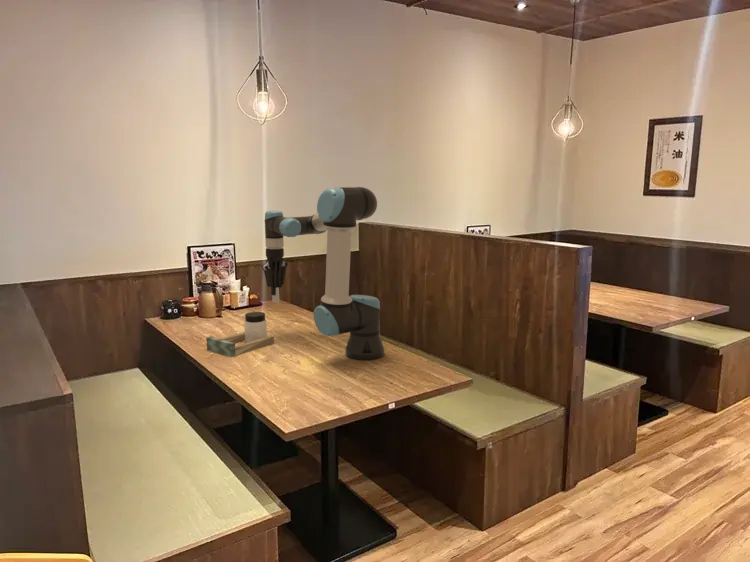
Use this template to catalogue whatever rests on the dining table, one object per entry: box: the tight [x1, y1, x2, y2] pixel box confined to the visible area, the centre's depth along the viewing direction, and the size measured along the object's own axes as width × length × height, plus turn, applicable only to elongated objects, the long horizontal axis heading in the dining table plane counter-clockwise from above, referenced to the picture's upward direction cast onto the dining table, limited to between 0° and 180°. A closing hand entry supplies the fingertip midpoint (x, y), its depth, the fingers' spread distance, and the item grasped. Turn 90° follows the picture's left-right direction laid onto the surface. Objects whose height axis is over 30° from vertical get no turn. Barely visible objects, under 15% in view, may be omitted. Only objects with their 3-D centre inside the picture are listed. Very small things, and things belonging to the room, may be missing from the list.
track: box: [205, 331, 275, 358], centre depth 234 cm, size 15×22×5 cm
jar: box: [244, 311, 268, 343], centre depth 240 cm, size 9×8×12 cm
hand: (275, 302), depth 248 cm, fingers closed
